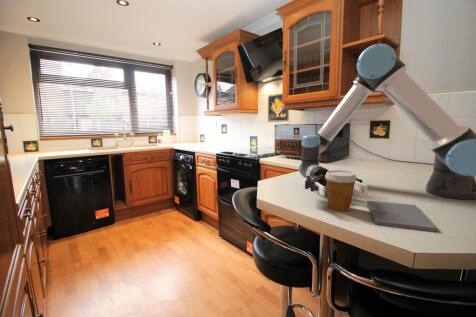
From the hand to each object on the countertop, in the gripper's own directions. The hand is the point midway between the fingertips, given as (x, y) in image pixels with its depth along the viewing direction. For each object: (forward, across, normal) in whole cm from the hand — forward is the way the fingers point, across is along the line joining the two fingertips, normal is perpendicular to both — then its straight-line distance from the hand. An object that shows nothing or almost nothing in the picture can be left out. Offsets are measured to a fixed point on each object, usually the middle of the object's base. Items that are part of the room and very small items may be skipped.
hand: (345, 190), depth 74 cm
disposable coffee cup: (-3, 0, -7) cm, 8 cm away
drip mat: (+4, -14, -7) cm, 16 cm away
